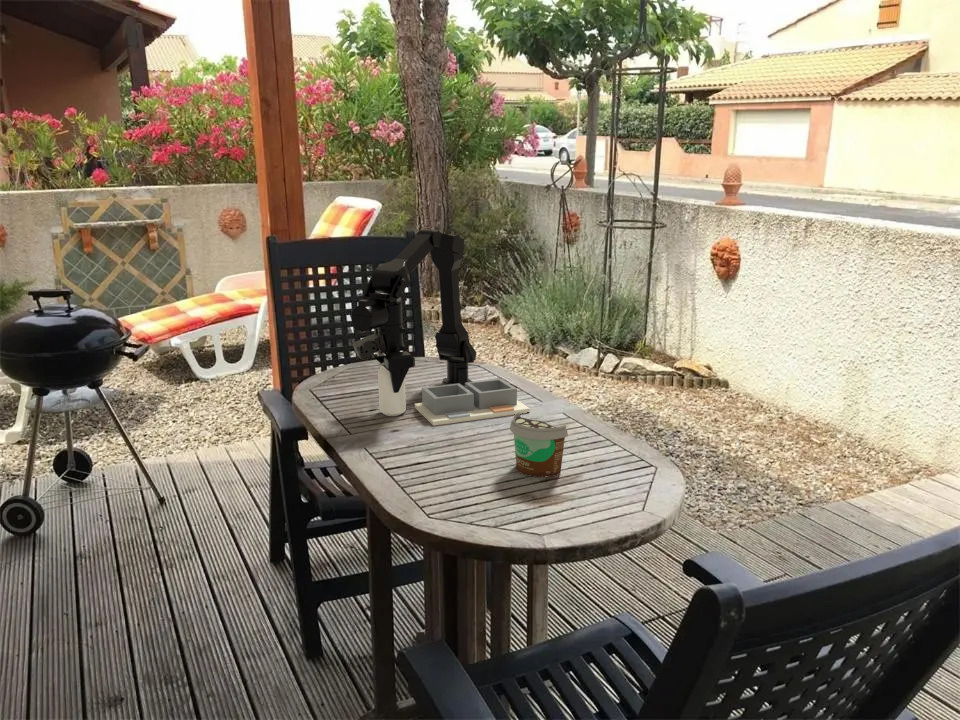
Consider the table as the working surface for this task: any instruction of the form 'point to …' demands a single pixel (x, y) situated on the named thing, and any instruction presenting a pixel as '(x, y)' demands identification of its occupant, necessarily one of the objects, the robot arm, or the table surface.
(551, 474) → the food container
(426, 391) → the socket board
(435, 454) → the table surface
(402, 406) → the beverage can
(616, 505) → the table surface
